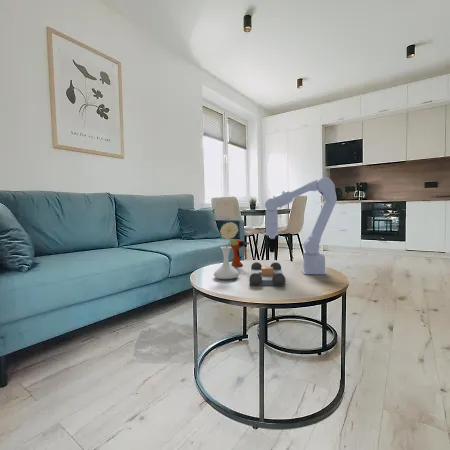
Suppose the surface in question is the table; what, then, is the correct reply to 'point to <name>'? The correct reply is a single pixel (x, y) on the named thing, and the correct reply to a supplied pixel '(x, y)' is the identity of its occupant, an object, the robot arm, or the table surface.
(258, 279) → the chassis
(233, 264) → the toy drill
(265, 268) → the block
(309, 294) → the table surface
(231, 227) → the flower in vase
